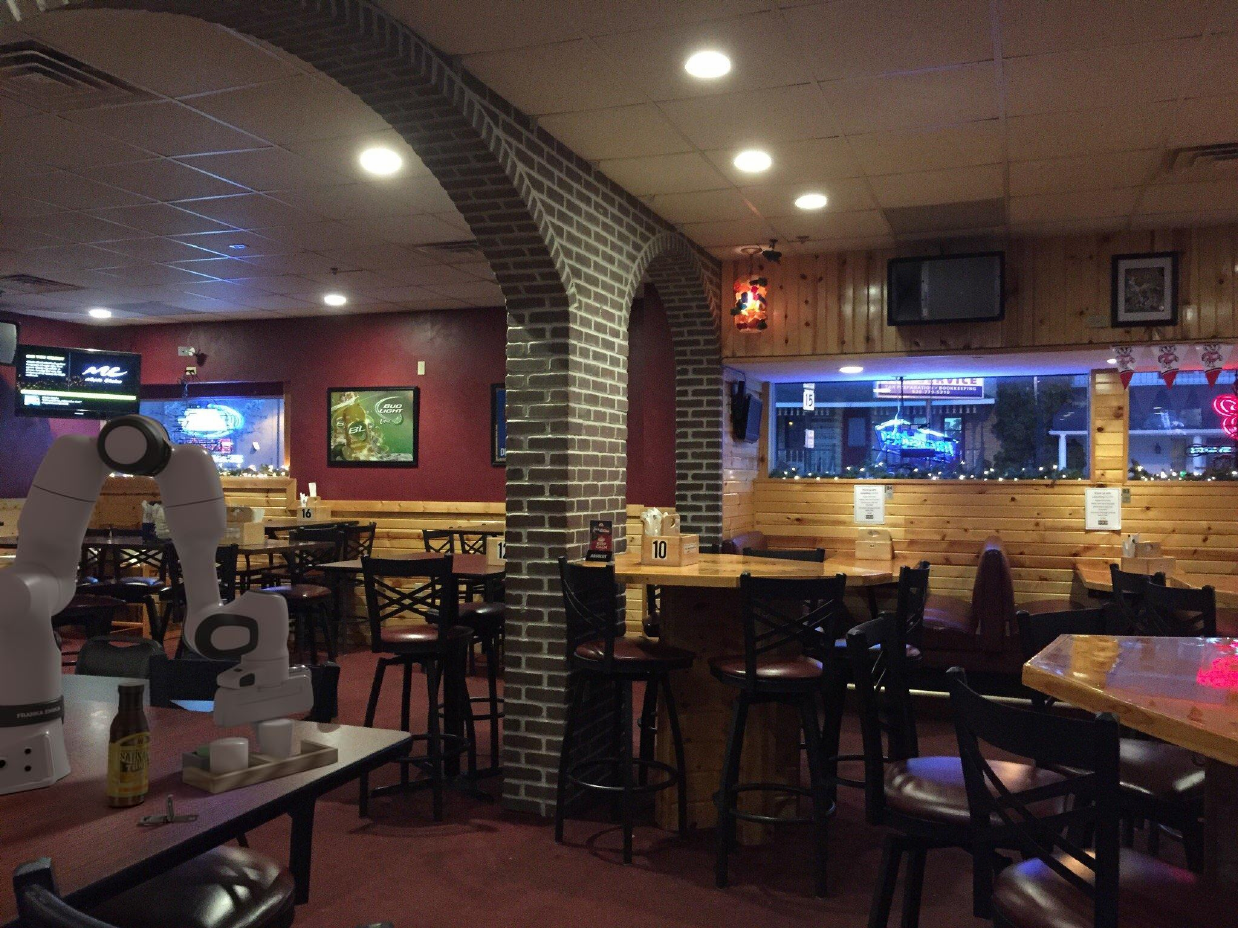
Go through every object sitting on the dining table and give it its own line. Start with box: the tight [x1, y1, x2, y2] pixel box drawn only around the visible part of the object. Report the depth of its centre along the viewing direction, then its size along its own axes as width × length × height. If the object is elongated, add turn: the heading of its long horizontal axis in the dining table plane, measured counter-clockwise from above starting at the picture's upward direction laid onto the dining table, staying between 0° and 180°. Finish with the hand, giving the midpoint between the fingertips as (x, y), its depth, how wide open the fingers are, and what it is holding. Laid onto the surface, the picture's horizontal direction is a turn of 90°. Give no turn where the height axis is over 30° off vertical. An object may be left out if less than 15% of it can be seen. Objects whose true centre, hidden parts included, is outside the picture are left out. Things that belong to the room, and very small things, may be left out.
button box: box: [181, 749, 210, 773], centre depth 187 cm, size 7×7×3 cm
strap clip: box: [138, 794, 200, 825], centre depth 159 cm, size 8×3×4 cm, turn 105°
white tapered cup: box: [258, 717, 296, 760], centre depth 194 cm, size 7×7×7 cm
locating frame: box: [182, 738, 339, 795], centre depth 185 cm, size 25×11×2 cm, turn 141°
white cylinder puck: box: [209, 736, 249, 776], centre depth 179 cm, size 6×6×7 cm
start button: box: [196, 742, 211, 757], centre depth 187 cm, size 4×4×3 cm
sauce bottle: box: [106, 681, 151, 808], centre depth 168 cm, size 6×6×20 cm
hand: (265, 741), depth 197 cm, fingers closed
